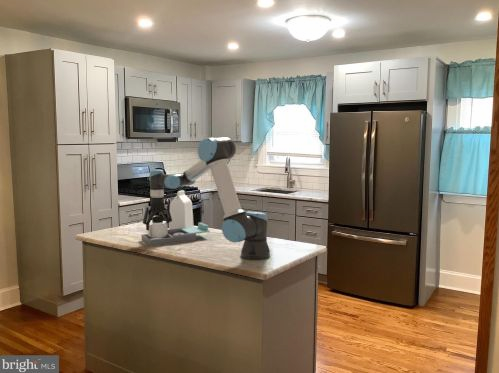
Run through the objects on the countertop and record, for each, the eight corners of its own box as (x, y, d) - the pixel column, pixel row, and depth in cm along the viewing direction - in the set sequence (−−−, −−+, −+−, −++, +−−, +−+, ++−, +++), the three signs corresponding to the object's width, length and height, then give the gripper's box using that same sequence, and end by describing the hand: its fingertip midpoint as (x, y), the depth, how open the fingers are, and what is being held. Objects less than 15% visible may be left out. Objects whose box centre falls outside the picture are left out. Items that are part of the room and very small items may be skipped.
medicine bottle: (166, 236, 265) (166, 215, 263) (158, 238, 259) (158, 217, 257) (157, 234, 268) (156, 214, 267) (149, 237, 262) (148, 216, 260)
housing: (196, 240, 267) (196, 232, 267) (150, 246, 253) (150, 238, 253) (185, 235, 281) (185, 227, 280) (141, 240, 267) (141, 232, 266)
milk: (185, 233, 285) (184, 192, 281) (169, 232, 289) (168, 191, 285) (193, 229, 296) (193, 190, 293) (177, 228, 300) (177, 189, 296)
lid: (209, 231, 273) (209, 225, 273) (189, 234, 267) (189, 228, 266) (201, 227, 284) (201, 221, 283) (181, 230, 277) (181, 224, 277)
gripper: (173, 194, 269) (173, 231, 272) (136, 197, 258) (137, 235, 261) (177, 196, 263) (178, 233, 266) (140, 198, 251) (141, 238, 254)
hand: (157, 234), depth 263 cm, fingers closed on medicine bottle, 9 cm apart
